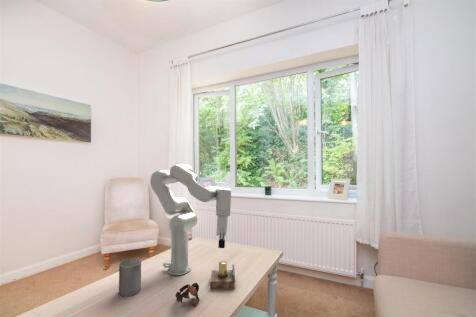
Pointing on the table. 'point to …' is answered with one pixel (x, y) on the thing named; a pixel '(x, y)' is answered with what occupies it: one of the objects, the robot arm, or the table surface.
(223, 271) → the gold cylinder
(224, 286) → the jig
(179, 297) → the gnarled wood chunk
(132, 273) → the pillar candle
